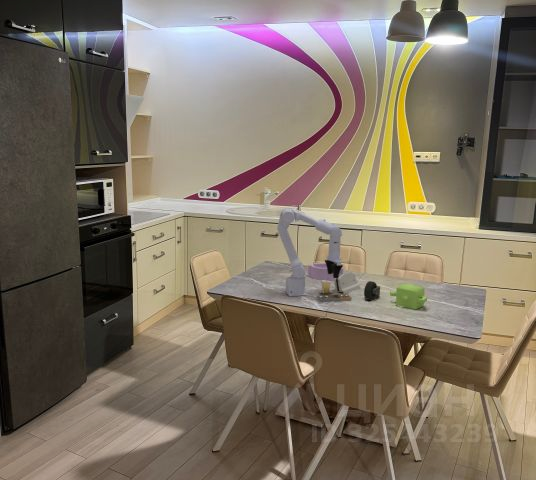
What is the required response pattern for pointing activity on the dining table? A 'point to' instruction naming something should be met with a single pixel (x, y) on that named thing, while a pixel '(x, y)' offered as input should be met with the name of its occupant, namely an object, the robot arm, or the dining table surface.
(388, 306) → the dining table surface
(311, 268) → the purple oblong basket
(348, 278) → the off-white striped device
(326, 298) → the chain end left
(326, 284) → the pin
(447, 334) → the dining table surface
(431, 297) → the dining table surface
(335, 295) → the chain end right
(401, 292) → the gearbox
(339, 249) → the robot arm
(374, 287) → the caster wheel
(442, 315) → the dining table surface
